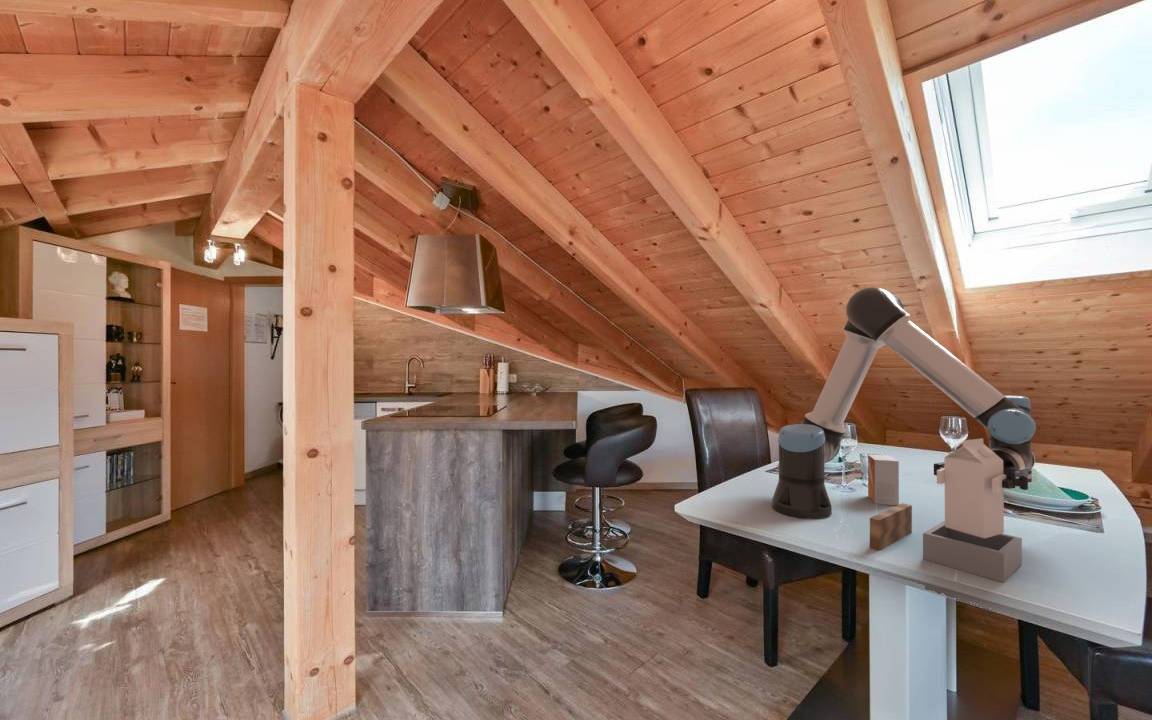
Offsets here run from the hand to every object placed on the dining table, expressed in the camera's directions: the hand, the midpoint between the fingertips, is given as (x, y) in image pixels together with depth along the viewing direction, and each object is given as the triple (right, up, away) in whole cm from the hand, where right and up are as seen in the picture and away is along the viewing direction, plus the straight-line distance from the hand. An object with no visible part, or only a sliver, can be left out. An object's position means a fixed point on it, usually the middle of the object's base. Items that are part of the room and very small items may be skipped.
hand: (965, 481), depth 96 cm
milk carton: (+4, -11, +3) cm, 12 cm away
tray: (+4, -18, +3) cm, 18 cm away
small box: (+13, -18, +46) cm, 51 cm away
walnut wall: (-5, -18, +15) cm, 24 cm away
